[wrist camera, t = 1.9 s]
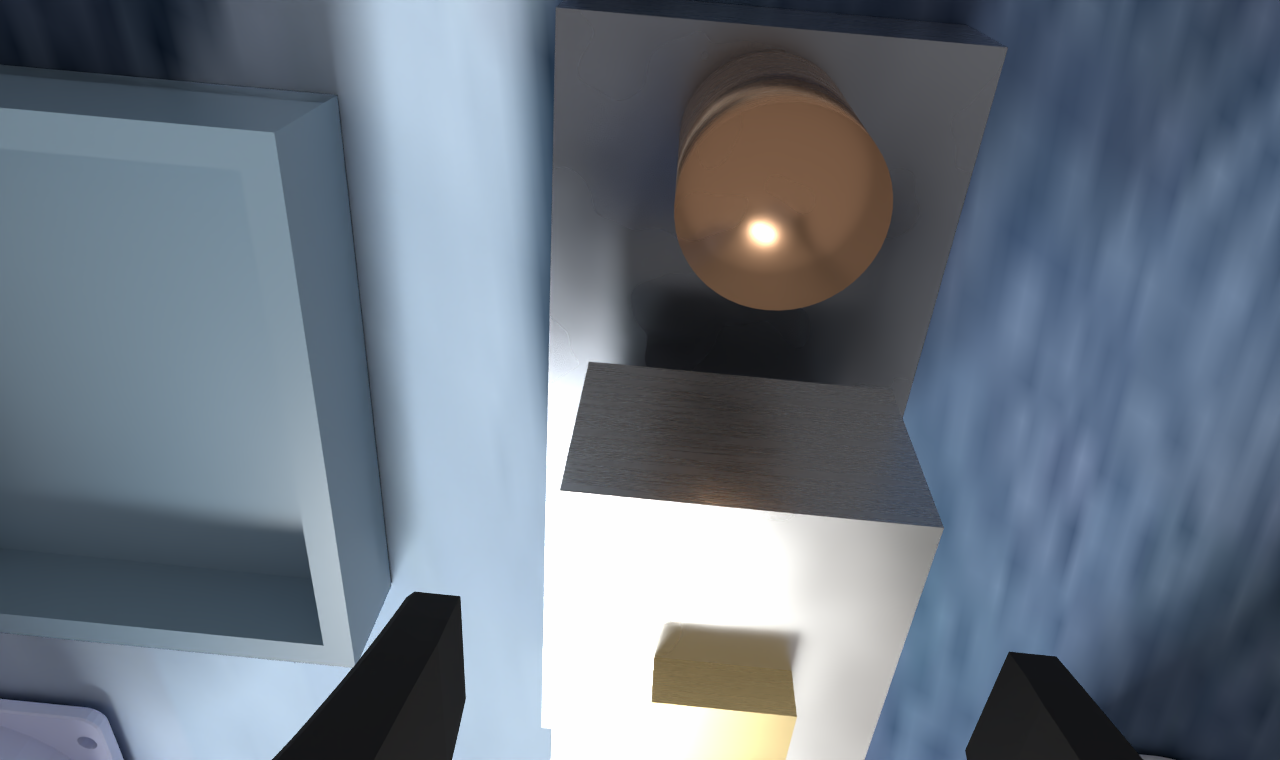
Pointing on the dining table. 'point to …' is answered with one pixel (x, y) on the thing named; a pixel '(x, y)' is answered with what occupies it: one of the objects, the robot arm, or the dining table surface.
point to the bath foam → (1153, 757)
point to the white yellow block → (733, 567)
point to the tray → (183, 371)
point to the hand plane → (750, 199)
